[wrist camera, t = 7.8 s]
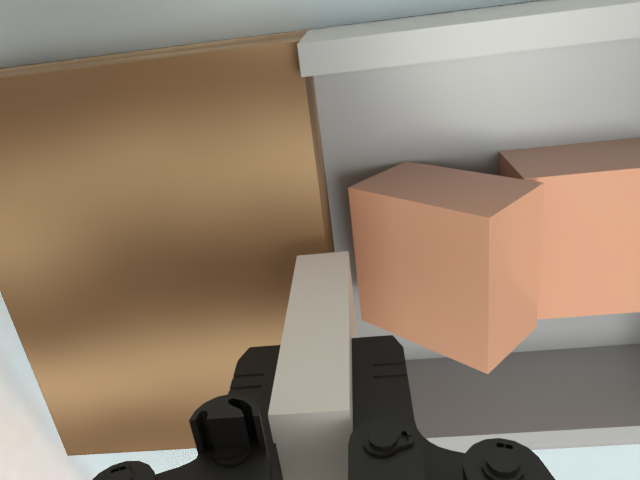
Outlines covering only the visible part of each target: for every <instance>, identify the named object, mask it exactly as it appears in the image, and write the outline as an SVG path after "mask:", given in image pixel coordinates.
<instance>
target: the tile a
mask: <svg viewBox="0 0 640 480" xmlns="http://www.w3.org/2000/svg"><path fill="white" fill-rule="evenodd" d="M348 192H349V202H350V212H351V222H352V232H353V242H354V251H355V261H356V271H357V281H358V291H359V301H360V310H361V320H363V321H365V322H367V323H370V324H372V325H374V326H377V327H379V328H381V329H384V330H386V331H388V332H391V333H393V334H395V335H398V336H400V337H402V338H405V339H407V340H409V341H412V342H414V343H416V344H419V345H421V346H423V347H426V348H428V349H430V350H432V351H435V352H437V353H439V354H442V355H444V356H446V357H449V358H451V359H453V360H456V361H458V362H460V363H463V364H465V365H467V366H470V367H472V368H474V369H477V370H479V371H481V372H484V373H486V374H489V373H490V372H491V371H492V370H493V369H494V368H495V367H496V366H497V365H498V364H499V363H500V362H501V361H502V360H503V359H504V358H505V357H506V356H507V355H509V354H510V353H511V352H512V351H513V350H514V349H515V348H516V347H517V346H518V345H519V344H520V343H521V342H522V341H523V340H524V339H525V338H526V337H527V336H528V335H529V334H530V333H531V332H532V331H533V330H535V329H536V328H537V309H538V289H539V270H540V250H541V231H542V211H543V192H544V183H542V182H536V181H530V180H523V179H517V178H510V177H504V176H498V175H491V174H485V173H478V172H472V171H466V170H459V169H453V168H447V167H440V166H434V165H427V164H421V163H415V162H408V161H405V162H403V163H401V164H399V165H397V166H394V167H392V168H390V169H388V170H386V171H383V172H381V173H379V174H377V175H374V176H372V177H370V178H368V179H366V180H363V181H361V182H359V183H357V184H355V185H352V186H350V187H348Z"/></svg>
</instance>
